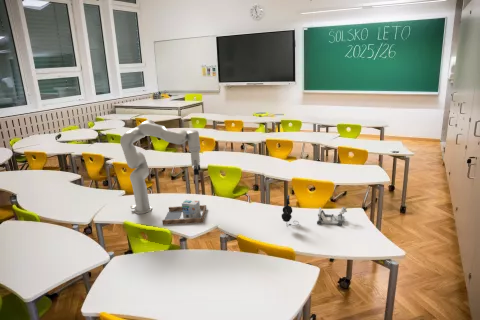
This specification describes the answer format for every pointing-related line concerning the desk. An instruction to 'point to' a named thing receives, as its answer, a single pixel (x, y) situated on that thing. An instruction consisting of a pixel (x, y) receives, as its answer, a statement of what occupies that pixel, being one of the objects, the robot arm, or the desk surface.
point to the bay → (174, 219)
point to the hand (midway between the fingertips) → (197, 172)
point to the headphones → (287, 212)
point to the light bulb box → (191, 209)
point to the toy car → (331, 218)
